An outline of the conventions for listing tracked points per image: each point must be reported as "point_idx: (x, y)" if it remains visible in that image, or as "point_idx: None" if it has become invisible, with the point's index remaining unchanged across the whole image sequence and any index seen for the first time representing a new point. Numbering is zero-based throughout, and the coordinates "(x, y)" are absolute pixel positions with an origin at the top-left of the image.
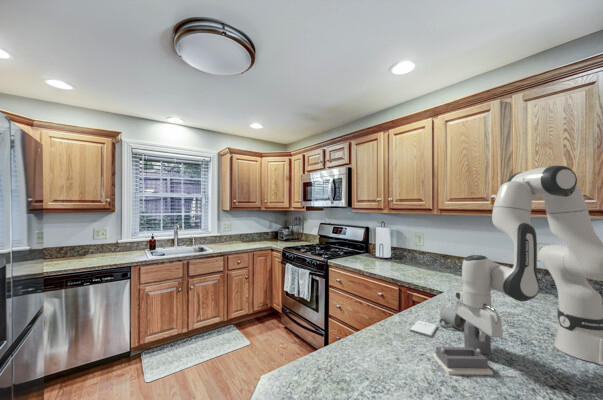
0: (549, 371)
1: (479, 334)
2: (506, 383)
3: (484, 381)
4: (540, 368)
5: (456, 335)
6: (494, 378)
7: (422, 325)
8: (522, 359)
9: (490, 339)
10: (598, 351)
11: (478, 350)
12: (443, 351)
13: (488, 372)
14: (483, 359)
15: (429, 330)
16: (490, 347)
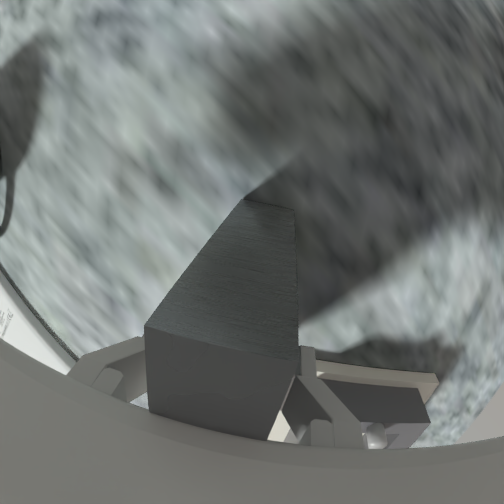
0: (498, 49)
1: (296, 428)
2: (480, 362)
3: (433, 419)
4: (477, 58)
5: (51, 233)
6: (446, 382)
7: (11, 341)
8: (389, 44)
9: (294, 251)
10: None
11: (381, 446)
12: None
13: (427, 395)
14: (418, 435)
15: (45, 355)
16: (292, 225)
